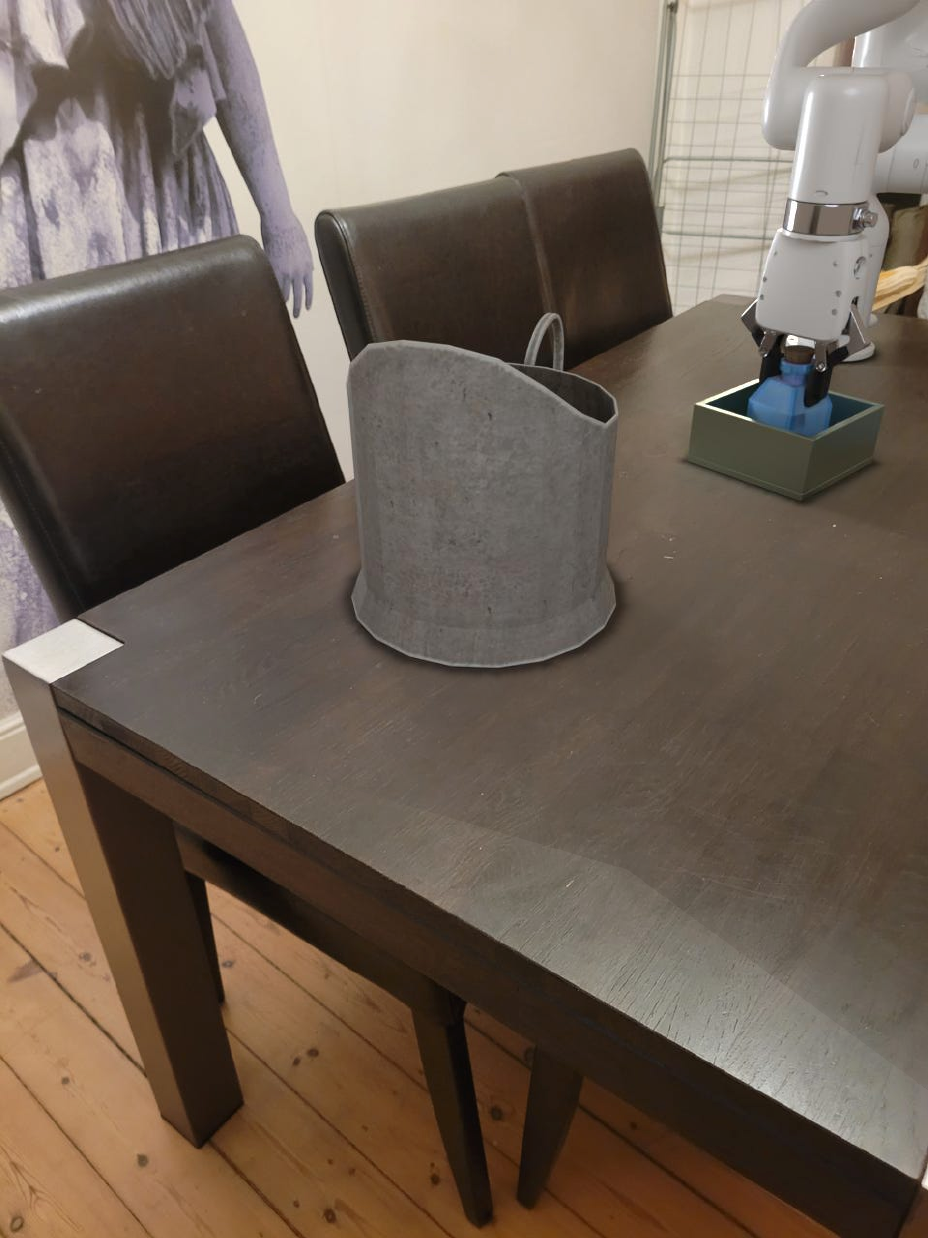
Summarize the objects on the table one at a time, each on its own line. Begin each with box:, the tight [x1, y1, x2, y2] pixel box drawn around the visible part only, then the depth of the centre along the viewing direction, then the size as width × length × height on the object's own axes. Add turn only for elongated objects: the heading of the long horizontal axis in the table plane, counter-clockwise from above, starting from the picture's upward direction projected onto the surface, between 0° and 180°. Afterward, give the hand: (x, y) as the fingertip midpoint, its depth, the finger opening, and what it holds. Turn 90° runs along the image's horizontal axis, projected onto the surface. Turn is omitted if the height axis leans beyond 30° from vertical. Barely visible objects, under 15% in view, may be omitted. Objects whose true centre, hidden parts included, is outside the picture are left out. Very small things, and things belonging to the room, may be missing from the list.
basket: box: [686, 377, 886, 502], centre depth 103 cm, size 15×15×7 cm
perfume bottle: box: [747, 345, 833, 436], centre depth 102 cm, size 6×6×12 cm
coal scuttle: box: [345, 312, 619, 669], centre depth 79 cm, size 23×32×25 cm
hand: (790, 395), depth 101 cm, fingers closed on perfume bottle, 4 cm apart
